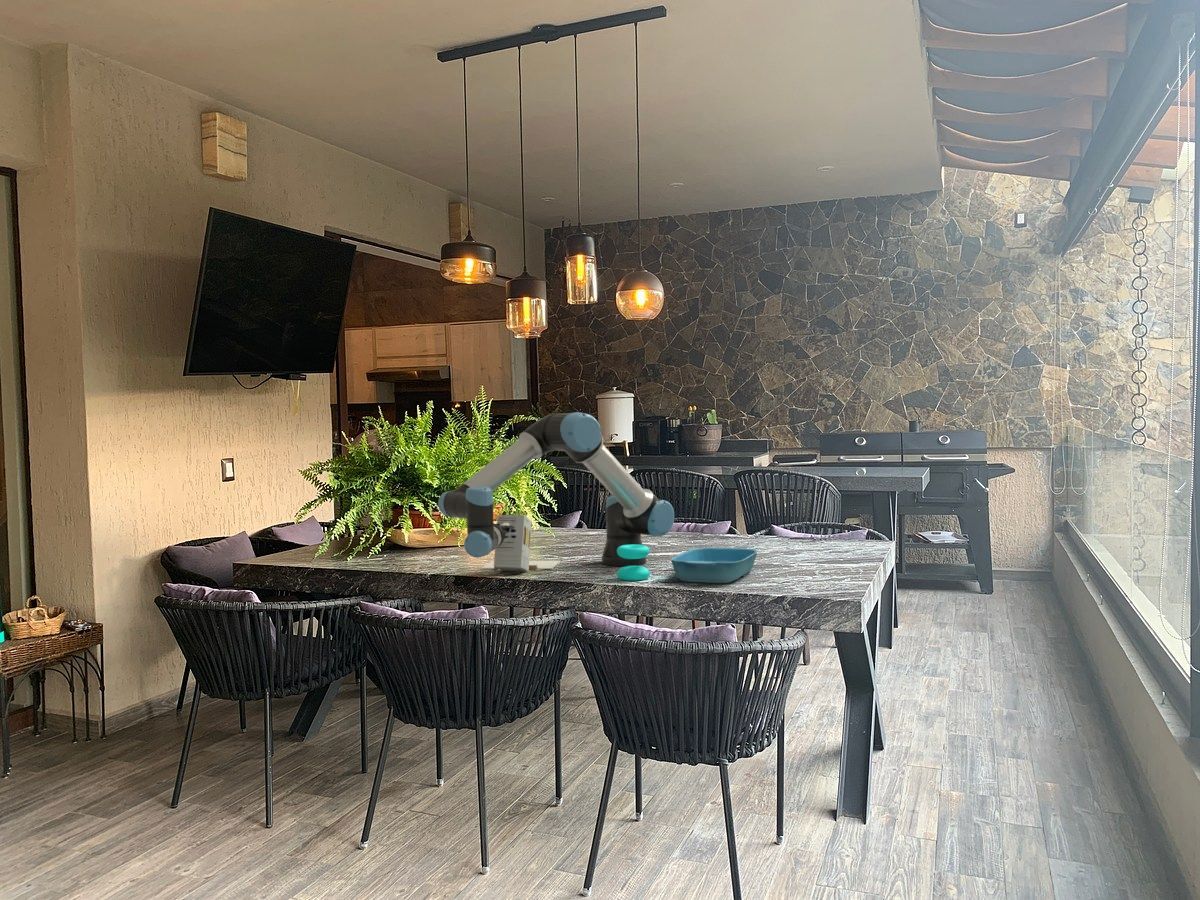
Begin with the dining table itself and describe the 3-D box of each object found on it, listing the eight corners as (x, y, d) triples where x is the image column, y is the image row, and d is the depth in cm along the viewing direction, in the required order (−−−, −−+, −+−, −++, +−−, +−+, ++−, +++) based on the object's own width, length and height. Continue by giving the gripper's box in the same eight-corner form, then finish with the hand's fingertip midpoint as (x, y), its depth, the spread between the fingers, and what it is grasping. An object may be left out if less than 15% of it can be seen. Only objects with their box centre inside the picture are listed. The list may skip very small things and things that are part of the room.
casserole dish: (697, 565, 311) (696, 544, 311) (763, 568, 303) (763, 546, 303) (662, 584, 277) (661, 560, 277) (736, 588, 269) (736, 563, 269)
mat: (560, 562, 322) (560, 557, 322) (551, 570, 305) (551, 565, 305) (491, 562, 325) (491, 557, 325) (479, 570, 308) (479, 565, 308)
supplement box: (521, 567, 295) (524, 514, 300) (493, 566, 297) (496, 514, 301) (529, 571, 304) (532, 520, 309) (501, 571, 306) (505, 520, 310)
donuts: (644, 548, 281) (612, 547, 284) (645, 582, 281) (613, 580, 284) (653, 544, 290) (622, 543, 293) (653, 576, 291) (622, 575, 294)
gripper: (468, 550, 277) (487, 538, 300) (511, 550, 275) (527, 538, 298) (467, 525, 276) (486, 515, 300) (510, 524, 275) (526, 514, 298)
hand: (507, 526), depth 299 cm, fingers closed
